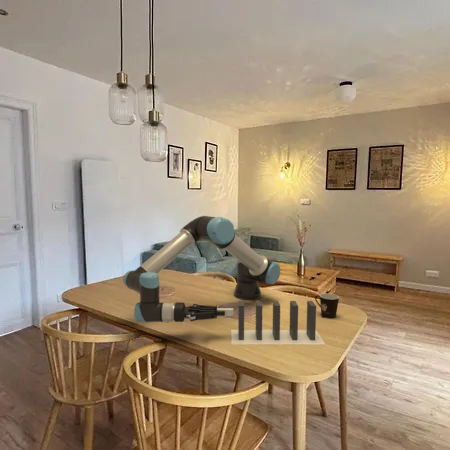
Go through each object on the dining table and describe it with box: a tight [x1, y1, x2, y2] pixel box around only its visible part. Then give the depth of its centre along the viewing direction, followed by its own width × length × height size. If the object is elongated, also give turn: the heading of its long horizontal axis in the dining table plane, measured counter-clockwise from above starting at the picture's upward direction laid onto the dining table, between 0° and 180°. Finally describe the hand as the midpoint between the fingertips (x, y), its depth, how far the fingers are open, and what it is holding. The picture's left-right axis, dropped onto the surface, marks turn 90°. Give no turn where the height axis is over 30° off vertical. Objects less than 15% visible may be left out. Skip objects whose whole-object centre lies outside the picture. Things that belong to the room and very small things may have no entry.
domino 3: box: [272, 300, 281, 340], centre depth 131 cm, size 2×6×14 cm, turn 0°
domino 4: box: [289, 300, 299, 340], centre depth 131 cm, size 2×6×14 cm, turn 0°
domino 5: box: [306, 300, 317, 340], centre depth 131 cm, size 2×6×14 cm, turn 0°
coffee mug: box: [314, 293, 340, 320], centre depth 155 cm, size 12×9×10 cm
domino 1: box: [237, 300, 245, 340], centre depth 131 cm, size 2×6×14 cm, turn 0°
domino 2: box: [255, 300, 263, 340], centre depth 131 cm, size 2×6×14 cm, turn 0°
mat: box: [230, 329, 326, 346], centre depth 131 cm, size 13×36×1 cm, turn 90°
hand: (233, 312), depth 130 cm, fingers closed
